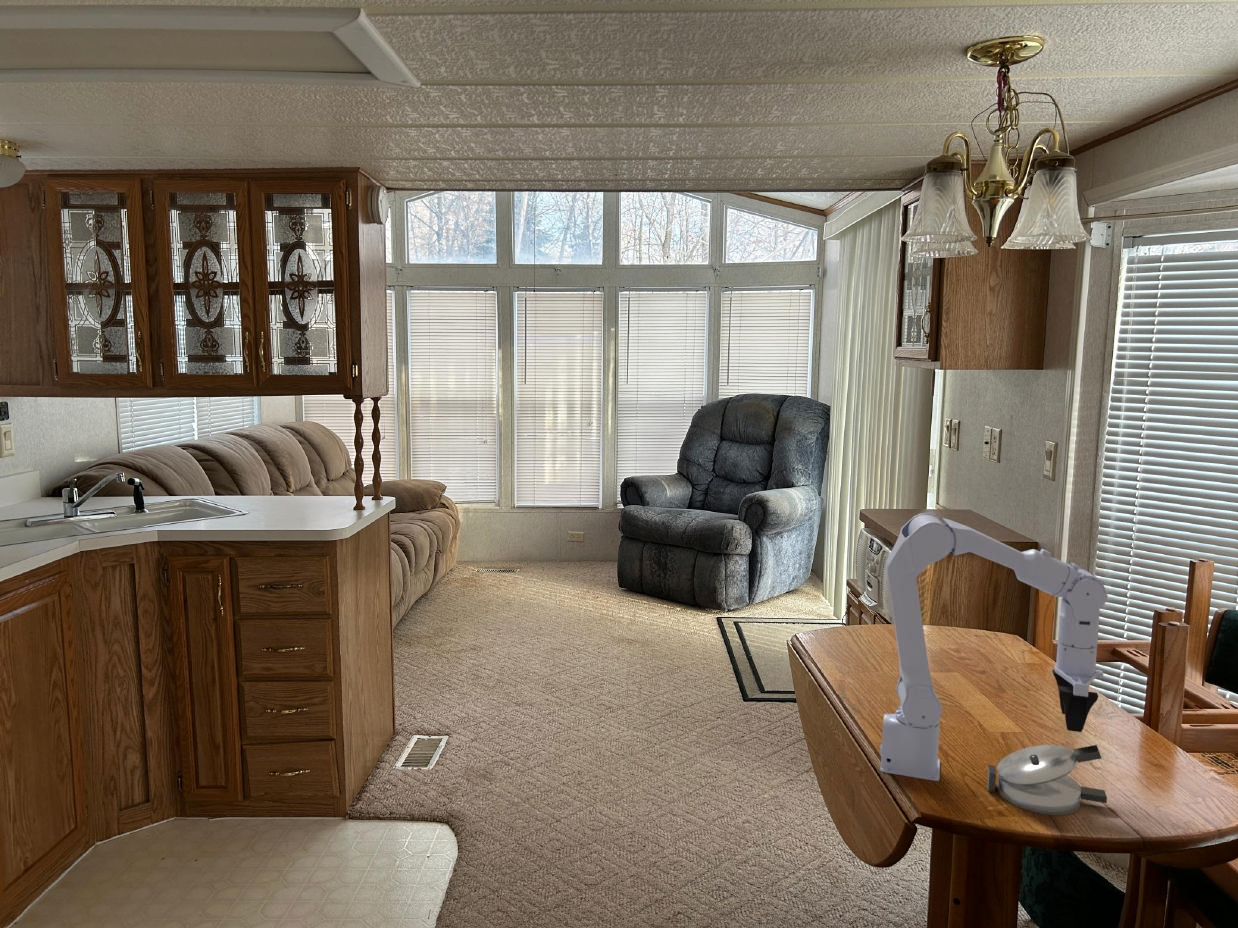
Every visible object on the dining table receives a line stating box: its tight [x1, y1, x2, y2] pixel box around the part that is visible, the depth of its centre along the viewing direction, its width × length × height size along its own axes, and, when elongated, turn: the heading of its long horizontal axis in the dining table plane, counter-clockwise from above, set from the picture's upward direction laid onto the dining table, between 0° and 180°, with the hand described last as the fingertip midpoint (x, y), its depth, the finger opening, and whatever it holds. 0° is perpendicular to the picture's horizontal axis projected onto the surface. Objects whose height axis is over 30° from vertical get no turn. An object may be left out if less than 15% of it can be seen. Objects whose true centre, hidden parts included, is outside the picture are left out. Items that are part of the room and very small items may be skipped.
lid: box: [996, 744, 1103, 785], centre depth 138 cm, size 16×12×2 cm
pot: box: [987, 764, 1108, 816], centre depth 138 cm, size 17×12×3 cm
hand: (1071, 722), depth 142 cm, fingers open, 6 cm apart
